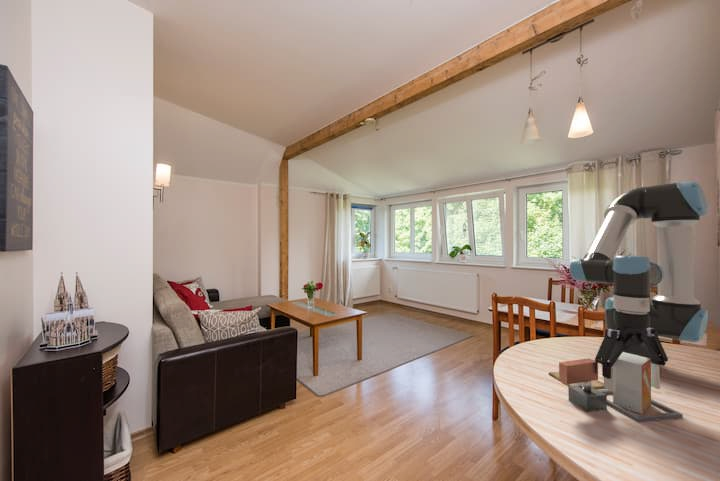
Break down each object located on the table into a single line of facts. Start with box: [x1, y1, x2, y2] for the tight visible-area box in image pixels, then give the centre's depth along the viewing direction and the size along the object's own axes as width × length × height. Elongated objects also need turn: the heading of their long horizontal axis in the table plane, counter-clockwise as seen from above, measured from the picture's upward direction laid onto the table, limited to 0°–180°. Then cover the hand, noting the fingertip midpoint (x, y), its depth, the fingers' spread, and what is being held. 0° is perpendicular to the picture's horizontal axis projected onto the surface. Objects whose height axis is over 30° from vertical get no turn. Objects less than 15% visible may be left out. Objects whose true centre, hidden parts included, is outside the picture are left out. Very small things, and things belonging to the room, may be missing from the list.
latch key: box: [558, 357, 599, 391], centre depth 83 cm, size 2×10×8 cm, turn 103°
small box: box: [612, 352, 652, 415], centre depth 83 cm, size 8×6×13 cm
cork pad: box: [548, 371, 605, 389], centre depth 97 cm, size 11×11×1 cm
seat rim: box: [597, 389, 684, 423], centre depth 83 cm, size 13×14×1 cm
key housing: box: [567, 385, 608, 413], centre depth 83 cm, size 6×6×4 cm
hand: (631, 388), depth 83 cm, fingers open, 13 cm apart
